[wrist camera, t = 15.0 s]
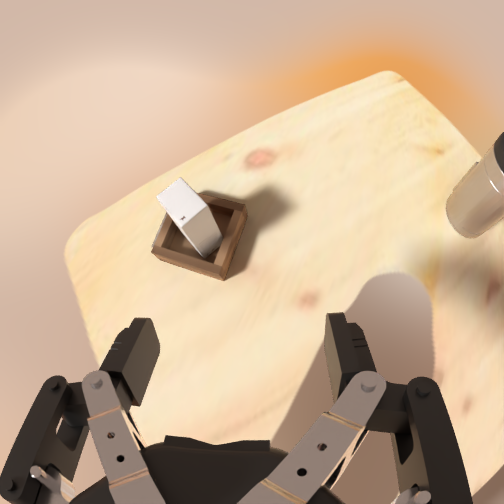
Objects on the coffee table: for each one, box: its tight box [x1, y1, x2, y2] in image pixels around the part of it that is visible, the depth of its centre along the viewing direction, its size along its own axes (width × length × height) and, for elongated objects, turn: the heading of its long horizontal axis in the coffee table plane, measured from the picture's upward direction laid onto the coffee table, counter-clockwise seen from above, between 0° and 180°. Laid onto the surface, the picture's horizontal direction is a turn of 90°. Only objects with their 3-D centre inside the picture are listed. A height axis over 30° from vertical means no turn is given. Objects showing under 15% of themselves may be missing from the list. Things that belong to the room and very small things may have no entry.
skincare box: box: [156, 177, 223, 259], centre depth 42 cm, size 6×4×12 cm
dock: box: [151, 193, 248, 281], centre depth 47 cm, size 11×13×4 cm
